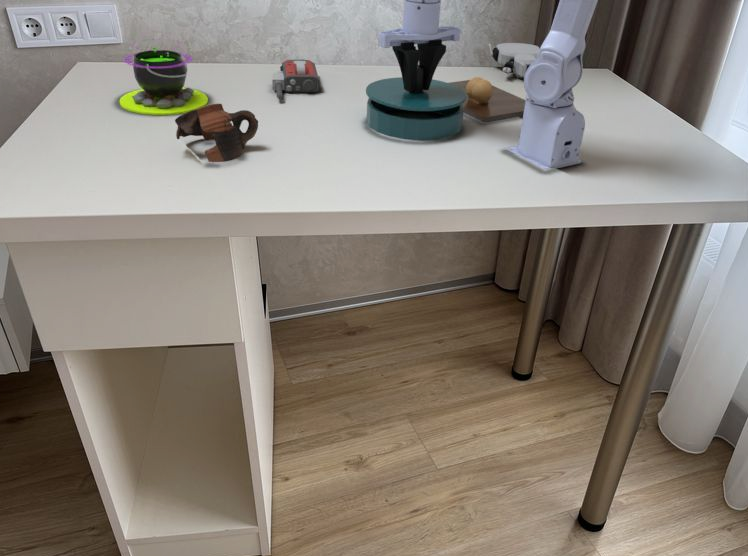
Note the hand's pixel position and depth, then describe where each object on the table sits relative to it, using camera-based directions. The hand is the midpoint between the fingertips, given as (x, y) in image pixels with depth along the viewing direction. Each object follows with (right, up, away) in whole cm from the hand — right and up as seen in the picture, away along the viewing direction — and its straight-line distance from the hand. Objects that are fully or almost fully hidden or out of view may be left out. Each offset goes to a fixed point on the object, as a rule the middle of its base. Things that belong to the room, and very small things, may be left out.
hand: (416, 89), depth 116 cm
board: (+12, +4, +16) cm, 21 cm away
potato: (+12, +3, +13) cm, 18 cm away
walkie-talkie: (-23, +6, +17) cm, 29 cm away
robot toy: (+23, +17, +36) cm, 46 cm away
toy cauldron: (-45, 0, +7) cm, 45 cm away
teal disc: (0, -1, 0) cm, 1 cm away
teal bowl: (0, -5, +4) cm, 6 cm away
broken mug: (-30, -14, -11) cm, 35 cm away
